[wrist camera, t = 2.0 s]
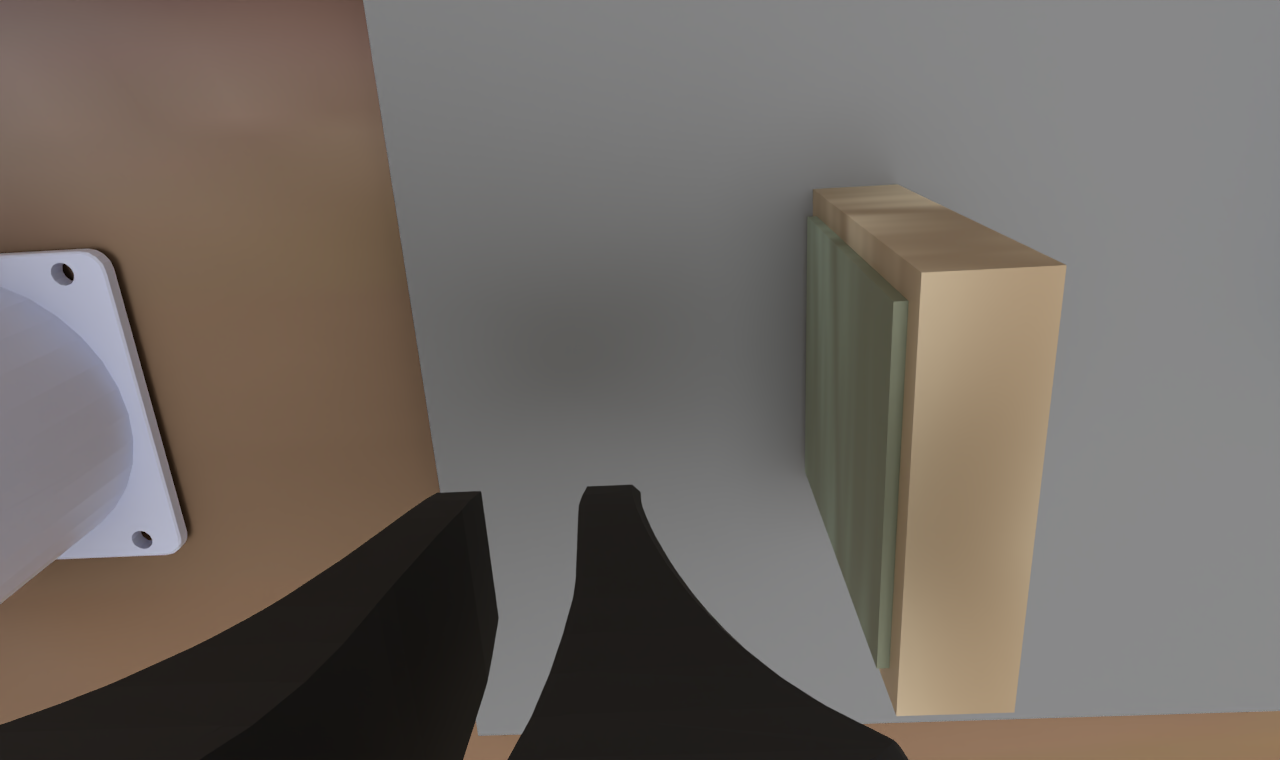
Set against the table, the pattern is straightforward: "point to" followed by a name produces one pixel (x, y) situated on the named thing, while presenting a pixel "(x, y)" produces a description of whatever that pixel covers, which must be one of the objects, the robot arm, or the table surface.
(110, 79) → the table surface
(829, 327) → the plaque
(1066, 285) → the mat
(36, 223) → the table surface
